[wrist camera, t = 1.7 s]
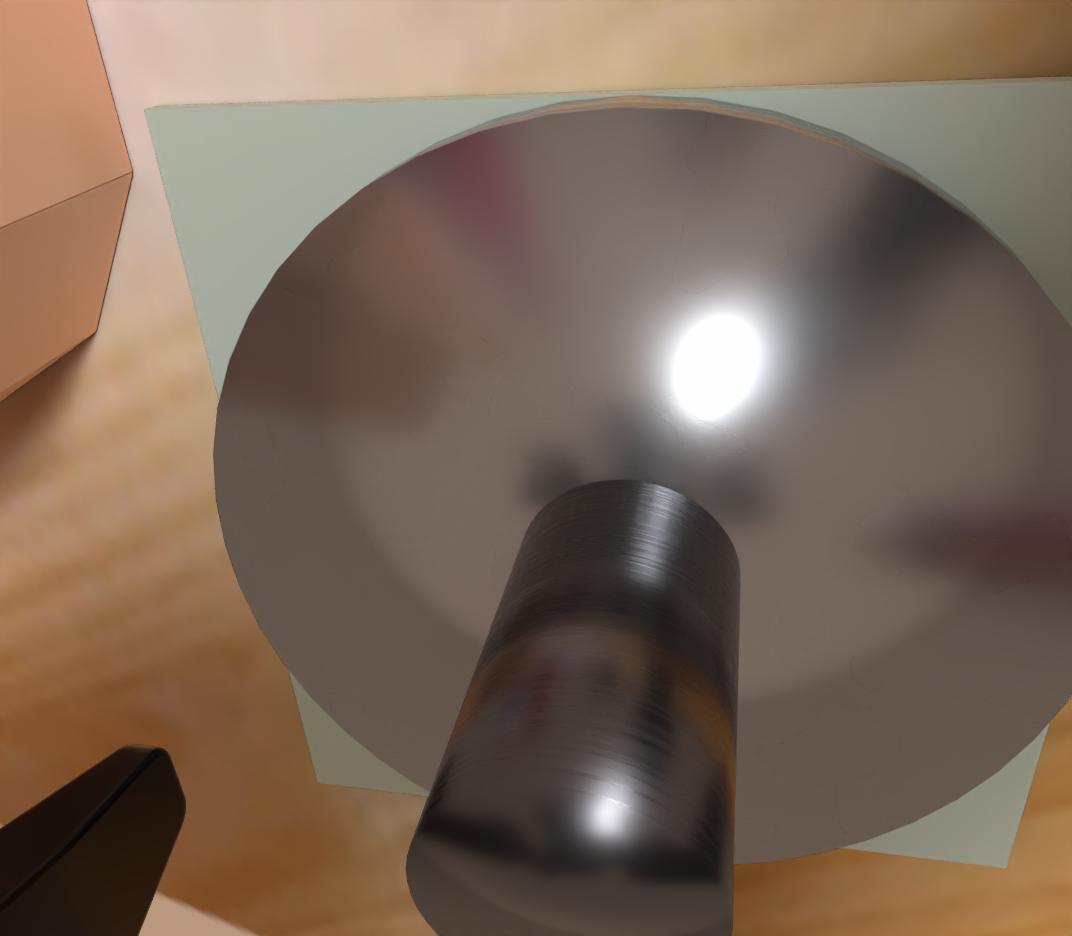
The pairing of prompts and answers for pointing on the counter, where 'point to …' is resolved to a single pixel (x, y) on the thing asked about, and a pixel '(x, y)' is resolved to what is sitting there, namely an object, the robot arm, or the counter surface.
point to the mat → (416, 123)
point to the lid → (655, 502)
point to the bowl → (54, 184)
